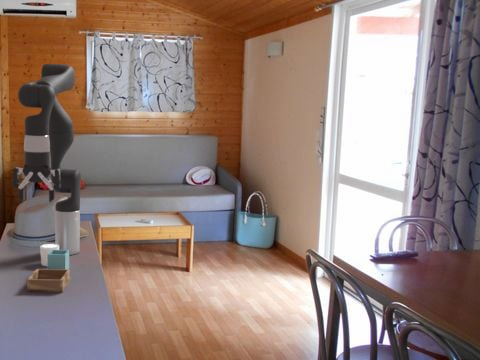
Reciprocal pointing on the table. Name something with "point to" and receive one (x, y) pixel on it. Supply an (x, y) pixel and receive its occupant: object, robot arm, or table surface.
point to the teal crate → (58, 259)
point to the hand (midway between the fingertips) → (37, 201)
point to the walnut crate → (48, 280)
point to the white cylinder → (45, 250)
